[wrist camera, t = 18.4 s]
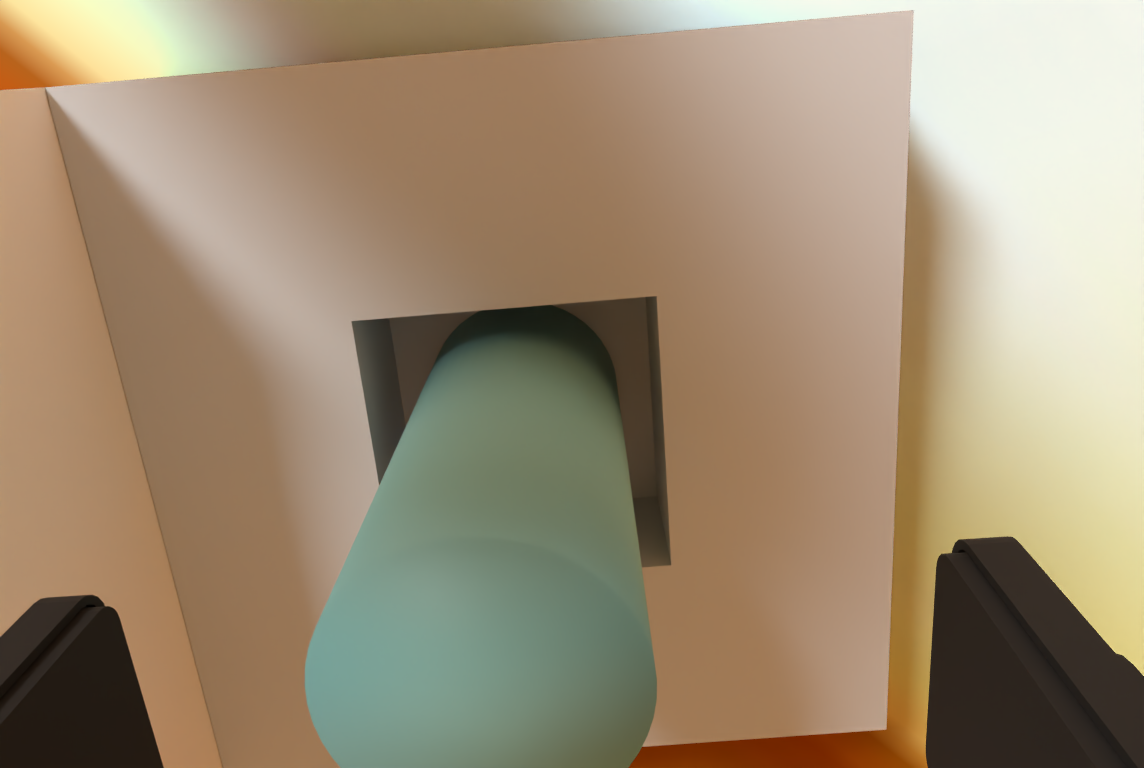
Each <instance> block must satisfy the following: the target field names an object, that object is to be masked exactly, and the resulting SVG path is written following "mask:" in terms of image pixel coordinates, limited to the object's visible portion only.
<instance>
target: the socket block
mask: <svg viewBox="0 0 1144 768" xmlns="http://www.w3.org/2000/svg"><path fill="white" fill-rule="evenodd" d="M912 37H913V10H911V11H900V12H888V13H877V14H866V15H855V16H844V17H832V18H821V19H810V20H799V21H787V22H776V23H765V24H754V25H743V26H731V27H720V28H709V29H698V30H686V31H675V32H664V33H653V34H641V35H630V36H619V37H608V38H597V39H585V40H574V41H563V42H552V43H540V44H529V45H518V46H507V47H496V48H484V49H473V50H462V51H451V52H439V53H428V54H417V55H406V56H394V57H383V58H372V59H361V60H350V61H338V62H327V63H316V64H305V65H293V66H282V67H271V68H260V69H249V70H237V71H226V72H215V73H204V74H192V75H181V76H170V77H159V78H147V79H136V80H125V81H114V82H103V83H91V84H80V85H69V86H58V87H46V88H45V89H46V92H47V96H48V100H49V104H50V108H51V112H52V115H53V119H54V123H55V127H56V131H57V134H58V138H59V142H60V146H61V150H62V154H63V157H64V161H65V165H66V169H67V173H68V176H69V180H70V184H71V188H72V192H73V196H74V199H75V203H76V207H77V211H78V215H79V219H80V222H81V226H82V230H83V234H84V238H85V241H86V245H87V249H88V253H89V257H90V261H91V264H92V268H93V272H94V276H95V280H96V283H97V287H98V291H99V295H100V299H101V303H102V306H103V310H104V314H105V318H106V322H107V326H108V329H109V333H110V337H111V341H112V345H113V348H114V352H115V356H116V360H117V364H118V368H119V371H120V375H121V379H122V383H123V387H124V390H125V394H126V398H127V402H128V406H129V410H130V413H131V417H132V421H133V425H134V429H135V433H136V436H137V440H138V444H139V448H140V452H141V455H142V459H143V463H144V467H145V471H146V475H147V478H148V482H149V486H150V490H151V494H152V497H153V501H154V505H155V509H156V513H157V517H158V520H159V524H160V528H161V532H162V536H163V540H164V543H165V547H166V551H167V555H168V559H169V562H170V566H171V570H172V574H173V578H174V582H175V585H176V589H177V593H178V597H179V601H180V604H181V608H182V612H183V616H184V620H185V624H186V627H187V631H188V635H189V639H190V643H191V647H192V650H193V654H194V658H195V662H196V666H197V669H198V673H199V677H200V681H201V685H202V689H203V692H204V696H205V700H206V704H207V708H208V711H209V715H210V719H211V723H212V727H213V731H214V734H215V738H216V742H217V746H218V750H219V754H220V757H221V761H222V765H223V768H340V766H339V765H338V764H337V763H336V762H335V761H334V759H333V758H332V757H331V755H330V754H329V752H328V751H327V749H326V748H325V746H324V745H323V743H322V741H321V740H320V737H319V735H318V733H317V731H316V729H315V727H314V725H313V722H312V719H311V715H310V712H309V709H308V705H307V699H306V692H305V663H306V658H307V652H308V647H309V644H310V641H311V638H312V636H313V633H314V630H315V627H316V625H317V623H318V621H319V618H320V616H321V614H322V612H323V610H324V607H325V605H326V603H327V601H328V598H329V596H330V594H331V592H332V590H333V587H334V585H335V583H336V581H337V578H338V576H339V574H340V572H341V570H342V567H343V565H344V563H345V561H346V558H347V556H348V554H349V552H350V550H351V547H352V545H353V543H354V541H355V538H356V536H357V534H358V532H359V530H360V527H361V525H362V523H363V521H364V518H365V516H366V514H367V512H368V510H369V507H370V505H371V503H372V501H373V498H374V496H375V494H376V492H377V490H378V487H379V485H380V483H381V481H382V478H383V476H384V474H385V472H386V470H387V467H388V465H389V463H390V461H391V458H392V456H393V454H394V452H395V450H396V447H397V445H398V443H399V441H400V438H401V436H402V434H403V432H404V430H405V427H406V425H407V423H408V421H409V418H410V416H411V414H412V412H413V410H414V407H415V405H416V403H417V401H418V398H419V396H420V394H421V392H422V390H423V387H424V385H425V383H426V381H427V378H428V376H429V374H430V372H431V370H432V367H433V365H434V363H435V361H436V358H437V356H438V354H439V352H440V350H441V348H442V346H443V344H444V343H445V341H446V340H447V339H448V337H449V336H450V334H451V333H452V332H453V331H454V330H455V329H456V328H457V327H458V326H459V325H460V324H461V323H462V322H464V321H465V320H466V319H467V318H469V317H470V316H472V315H474V314H475V313H477V312H479V311H481V310H493V309H505V308H518V307H530V306H542V305H553V306H555V307H558V308H561V309H563V310H565V311H567V312H569V313H571V314H573V315H575V316H576V317H577V318H579V319H580V320H582V321H583V322H584V323H586V324H587V325H588V326H589V327H590V328H591V329H592V330H593V331H594V332H595V333H596V335H597V336H598V337H599V338H600V339H601V341H602V342H603V344H604V346H605V347H606V349H607V351H608V353H609V355H610V357H611V360H612V362H613V366H614V369H615V374H616V381H617V388H618V395H619V403H620V410H621V417H622V425H623V432H624V440H625V447H626V454H627V462H628V469H629V477H630V484H631V491H632V499H633V506H634V513H635V521H636V528H637V536H638V543H639V550H640V558H641V565H642V573H643V580H644V587H645V595H646V602H647V610H648V617H649V624H650V632H651V639H652V647H653V654H654V661H655V669H656V676H657V701H656V707H655V713H654V718H653V721H652V724H651V727H650V730H649V733H648V736H647V738H646V740H645V742H644V744H643V746H642V747H646V746H661V745H675V744H689V743H703V742H717V741H732V740H746V739H760V738H774V737H788V736H802V735H817V734H831V733H845V732H859V731H873V730H886V729H887V703H888V676H889V649H890V623H891V596H892V569H893V543H894V516H895V490H896V463H897V436H898V410H899V383H900V357H901V330H902V303H903V277H904V250H905V223H906V197H907V170H908V144H909V117H910V90H911V64H912Z"/></svg>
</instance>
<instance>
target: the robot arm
mask: <svg viewBox="0 0 1144 768" xmlns="http://www.w3.org/2000/svg"><path fill="white" fill-rule="evenodd" d="M926 759H927V765H928V768H1144V676H1143V675H1142V674H1141V673H1140V672H1139V671H1138V669H1137V668H1136V667H1135V666H1134V665H1133V664H1132V663H1131V662H1129V661H1128V660H1127V659H1126V658H1125V657H1124V656H1122V655H1119V654H1116V653H1115V652H1114V651H1113V650H1112V649H1111V648H1110V647H1109V645H1108V644H1107V643H1106V642H1105V641H1104V640H1103V639H1102V637H1101V636H1100V635H1099V634H1098V633H1097V632H1096V630H1095V629H1094V628H1093V627H1092V626H1091V625H1090V624H1089V622H1088V621H1087V620H1086V619H1085V618H1084V617H1083V616H1082V614H1081V613H1080V612H1079V611H1078V610H1077V609H1076V607H1075V606H1074V605H1073V604H1072V603H1071V602H1070V601H1069V599H1068V598H1067V597H1066V596H1065V595H1064V594H1063V593H1062V591H1061V590H1060V589H1059V588H1058V587H1057V586H1056V584H1055V583H1054V582H1053V581H1052V580H1051V579H1050V578H1049V576H1048V575H1047V574H1046V573H1045V572H1044V571H1043V570H1042V568H1041V567H1040V566H1039V565H1038V564H1037V563H1036V561H1035V560H1034V559H1033V558H1032V557H1031V556H1030V555H1029V553H1028V552H1027V551H1026V550H1025V549H1024V548H1023V547H1022V545H1021V544H1020V543H1019V542H1018V541H1017V540H1016V539H1014V538H1013V537H994V538H978V539H962V540H958V541H957V542H956V543H955V545H954V547H953V550H952V553H949V554H941V555H940V556H939V558H938V561H937V567H936V582H935V599H934V616H933V633H932V650H931V667H930V684H929V701H928V718H927V735H926ZM0 768H164V767H163V763H162V760H161V756H160V753H159V750H158V746H157V743H156V739H155V736H154V733H153V729H152V726H151V722H150V719H149V716H148V712H147V709H146V705H145V702H144V699H143V695H142V692H141V689H140V685H139V682H138V678H137V675H136V672H135V668H134V665H133V661H132V658H131V655H130V651H129V648H128V644H127V641H126V638H125V634H124V631H123V627H122V624H121V621H120V618H119V615H118V613H117V611H116V610H115V609H114V608H112V607H110V606H105V605H104V603H103V602H102V600H101V599H100V598H99V597H97V596H95V595H78V596H63V597H47V598H42V599H39V600H38V601H37V602H35V603H34V604H33V605H32V606H31V607H30V608H29V609H28V610H27V611H26V612H25V613H24V614H23V615H22V616H21V617H20V618H19V619H18V620H17V621H16V622H15V623H14V624H13V625H12V626H11V627H10V628H9V629H8V630H7V631H6V632H5V633H4V634H3V635H2V636H1V637H0Z"/></svg>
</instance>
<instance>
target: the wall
mask: <svg viewBox="0 0 1144 768" xmlns="http://www.w3.org/2000/svg"><path fill="white" fill-rule="evenodd" d="M78 595H95V596H97V597H99V598H100V599H101V600H102V602H103V603H104V605H105V606H110V607H112V608H114V609H115V610H116V611H117V613H118V615H119V618H120V621H121V624H122V627H123V631H124V634H125V638H126V641H127V644H128V648H129V651H130V655H131V658H132V661H133V665H134V668H135V672H136V675H137V678H138V682H139V685H140V689H141V692H142V695H143V699H144V702H145V705H146V709H147V712H148V716H149V719H150V722H151V726H152V729H153V733H154V736H155V739H156V743H157V746H158V750H159V753H160V756H161V760H162V763H163V767H164V768H223V765H222V761H221V757H220V754H219V750H218V746H217V742H216V738H215V734H214V731H213V727H212V723H211V719H210V715H209V711H208V708H207V704H206V700H205V696H204V692H203V689H202V685H201V681H200V677H199V673H198V669H197V666H196V662H195V658H194V654H193V650H192V647H191V643H190V639H189V635H188V631H187V627H186V624H185V620H184V616H183V612H182V608H181V604H180V601H179V597H178V593H177V589H176V585H175V582H174V578H173V574H172V570H171V566H170V562H169V559H168V555H167V551H166V547H165V543H164V540H163V536H162V532H161V528H160V524H159V520H158V517H157V513H156V509H155V505H154V501H153V497H152V494H151V490H150V486H149V482H148V478H147V475H146V471H145V467H144V463H143V459H142V455H141V452H140V448H139V444H138V440H137V436H136V433H135V429H134V425H133V421H132V417H131V413H130V410H129V406H128V402H127V398H126V394H125V390H124V387H123V383H122V379H121V375H120V371H119V368H118V364H117V360H116V356H115V352H114V348H113V345H112V341H111V337H110V333H109V329H108V326H107V322H106V318H105V314H104V310H103V306H102V303H101V299H100V295H99V291H98V287H97V283H96V280H95V276H94V272H93V268H92V264H91V261H90V257H89V253H88V249H87V245H86V241H85V238H84V234H83V230H82V226H81V222H80V219H79V215H78V211H77V207H76V203H75V199H74V196H73V192H72V188H71V184H70V180H69V176H68V173H67V169H66V165H65V161H64V157H63V154H62V150H61V146H60V142H59V138H58V134H57V131H56V127H55V123H54V119H53V115H52V112H51V108H50V104H49V100H48V96H47V92H46V89H45V88H30V89H12V90H0V637H1V636H2V635H3V634H4V633H5V632H6V631H7V630H8V629H9V628H10V627H11V626H12V625H13V624H14V623H15V622H16V621H17V620H18V619H19V618H20V617H21V616H22V615H23V614H24V613H25V612H26V611H27V610H28V609H29V608H30V607H31V606H32V605H33V604H34V603H35V602H37V601H38V600H39V599H42V598H47V597H63V596H78Z"/></svg>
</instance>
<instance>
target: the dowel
mask: <svg viewBox="0 0 1144 768" xmlns="http://www.w3.org/2000/svg"><path fill="white" fill-rule="evenodd" d="M305 692H306V699H307V705H308V709H309V712H310V715H311V719H312V722H313V725H314V727H315V729H316V731H317V733H318V735H319V737H320V740H321V741H322V743H323V745H324V746H325V748H326V749H327V751H328V752H329V754H330V755H331V757H332V758H333V759H334V761H335V762H336V763H337V764H338V765H339V766H340V768H628V767H629V766H630V764H631V763H632V762H633V760H634V759H635V757H636V756H637V755H638V753H639V751H640V750H641V748H642V746H643V744H644V742H645V740H646V738H647V736H648V733H649V730H650V727H651V724H652V721H653V718H654V713H655V707H656V701H657V676H656V669H655V661H654V654H653V647H652V639H651V632H650V624H649V617H648V610H647V602H646V595H645V587H644V580H643V573H642V565H641V558H640V550H639V543H638V536H637V528H636V521H635V513H634V506H633V499H632V491H631V484H630V477H629V469H628V462H627V454H626V447H625V440H624V432H623V425H622V417H621V410H620V403H619V395H618V388H617V381H616V374H615V369H614V366H613V362H612V360H611V357H610V355H609V353H608V351H607V349H606V347H605V346H604V344H603V342H602V341H601V339H600V338H599V337H598V336H597V335H596V333H595V332H594V331H593V330H592V329H591V328H590V327H589V326H588V325H587V324H586V323H584V322H583V321H582V320H580V319H579V318H577V317H576V316H575V315H573V314H571V313H569V312H567V311H565V310H563V309H561V308H558V307H555V306H553V305H542V306H530V307H518V308H505V309H493V310H481V311H479V312H477V313H475V314H474V315H472V316H470V317H469V318H467V319H466V320H465V321H464V322H462V323H461V324H460V325H459V326H458V327H457V328H456V329H455V330H454V331H453V332H452V333H451V334H450V336H449V337H448V339H447V340H446V341H445V343H444V344H443V346H442V348H441V350H440V352H439V354H438V356H437V358H436V361H435V363H434V365H433V367H432V370H431V372H430V374H429V376H428V378H427V381H426V383H425V385H424V387H423V390H422V392H421V394H420V396H419V398H418V401H417V403H416V405H415V407H414V410H413V412H412V414H411V416H410V418H409V421H408V423H407V425H406V427H405V430H404V432H403V434H402V436H401V438H400V441H399V443H398V445H397V447H396V450H395V452H394V454H393V456H392V458H391V461H390V463H389V465H388V467H387V470H386V472H385V474H384V476H383V478H382V481H381V483H380V485H379V487H378V490H377V492H376V494H375V496H374V498H373V501H372V503H371V505H370V507H369V510H368V512H367V514H366V516H365V518H364V521H363V523H362V525H361V527H360V530H359V532H358V534H357V536H356V538H355V541H354V543H353V545H352V547H351V550H350V552H349V554H348V556H347V558H346V561H345V563H344V565H343V567H342V570H341V572H340V574H339V576H338V578H337V581H336V583H335V585H334V587H333V590H332V592H331V594H330V596H329V598H328V601H327V603H326V605H325V607H324V610H323V612H322V614H321V616H320V618H319V621H318V623H317V625H316V627H315V630H314V633H313V636H312V638H311V641H310V644H309V647H308V652H307V658H306V663H305Z"/></svg>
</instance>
